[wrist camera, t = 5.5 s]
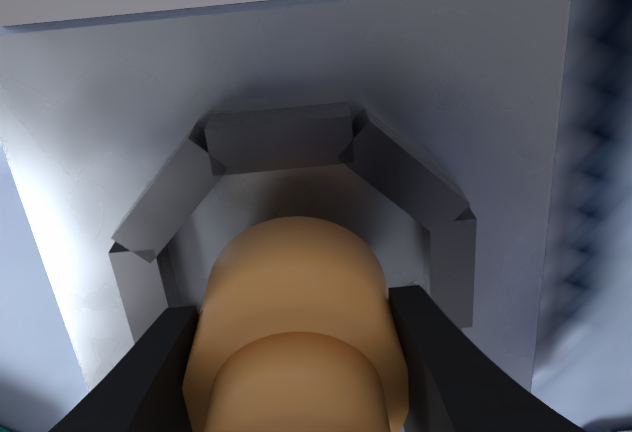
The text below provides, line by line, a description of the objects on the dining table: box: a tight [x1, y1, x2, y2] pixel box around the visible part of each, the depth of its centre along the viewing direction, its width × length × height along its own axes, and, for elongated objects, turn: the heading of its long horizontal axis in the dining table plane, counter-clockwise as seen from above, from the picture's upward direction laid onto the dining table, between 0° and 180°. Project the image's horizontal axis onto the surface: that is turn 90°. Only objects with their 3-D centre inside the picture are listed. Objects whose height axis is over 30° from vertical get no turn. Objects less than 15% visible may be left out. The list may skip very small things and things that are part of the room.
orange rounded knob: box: [182, 216, 409, 432], centre depth 11 cm, size 4×4×5 cm
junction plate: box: [0, 0, 571, 432], centre depth 14 cm, size 12×12×2 cm
